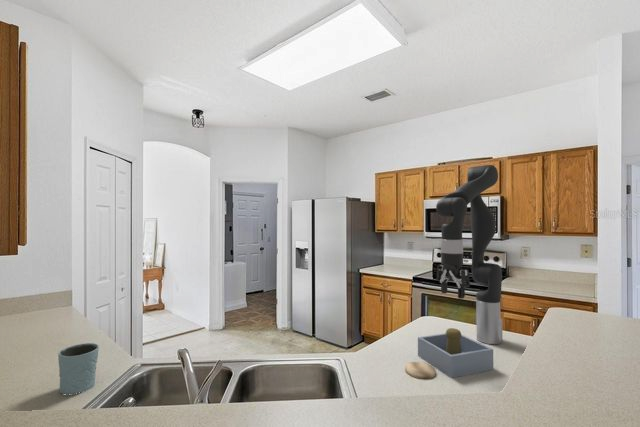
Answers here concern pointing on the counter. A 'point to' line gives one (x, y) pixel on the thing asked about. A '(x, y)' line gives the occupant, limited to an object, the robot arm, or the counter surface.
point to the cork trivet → (420, 370)
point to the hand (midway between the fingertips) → (452, 295)
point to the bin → (455, 355)
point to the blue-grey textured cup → (77, 368)
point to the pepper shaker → (453, 341)
